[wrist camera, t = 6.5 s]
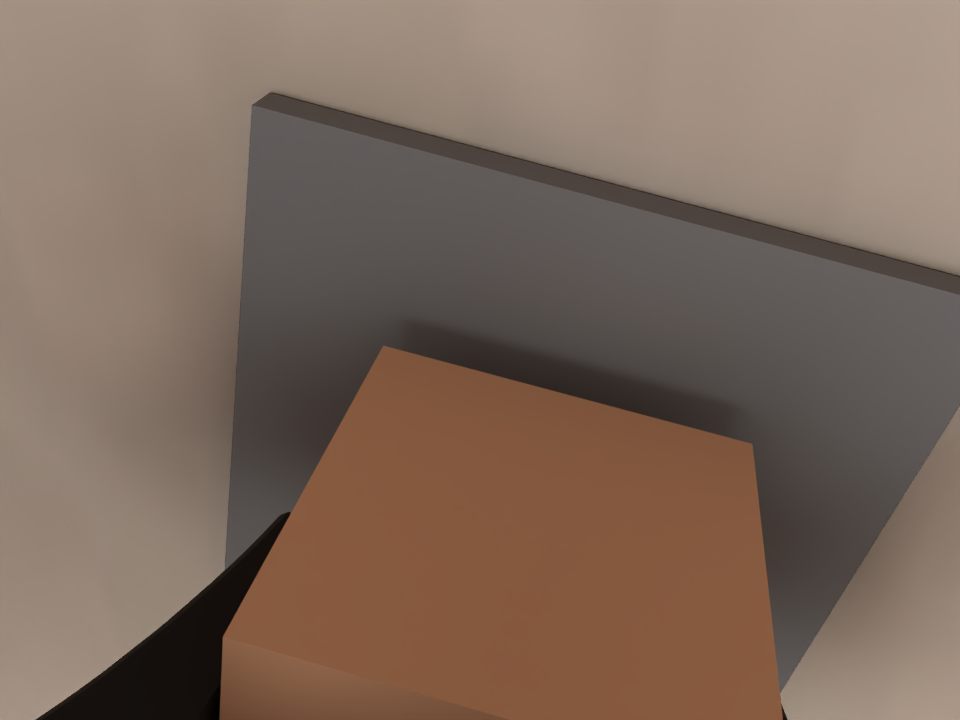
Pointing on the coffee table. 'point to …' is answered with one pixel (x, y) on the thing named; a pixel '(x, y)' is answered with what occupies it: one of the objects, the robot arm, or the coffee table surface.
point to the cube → (509, 565)
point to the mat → (584, 328)
